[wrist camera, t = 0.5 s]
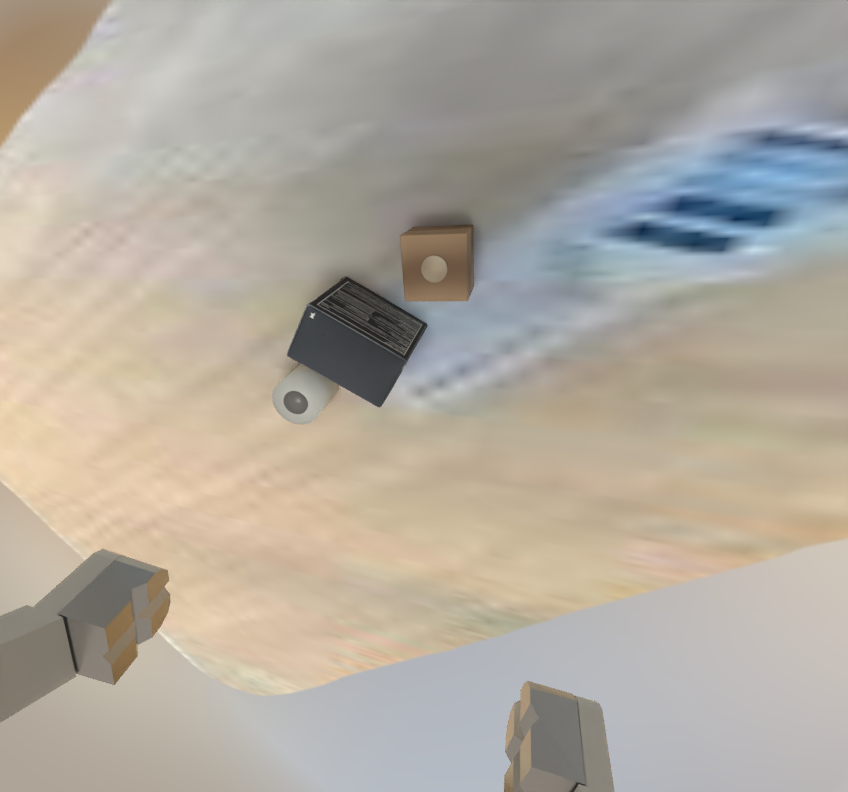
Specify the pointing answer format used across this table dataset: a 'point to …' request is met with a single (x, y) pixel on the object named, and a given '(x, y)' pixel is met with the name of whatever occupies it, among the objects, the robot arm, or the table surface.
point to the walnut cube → (438, 263)
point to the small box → (356, 340)
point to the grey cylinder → (303, 395)
